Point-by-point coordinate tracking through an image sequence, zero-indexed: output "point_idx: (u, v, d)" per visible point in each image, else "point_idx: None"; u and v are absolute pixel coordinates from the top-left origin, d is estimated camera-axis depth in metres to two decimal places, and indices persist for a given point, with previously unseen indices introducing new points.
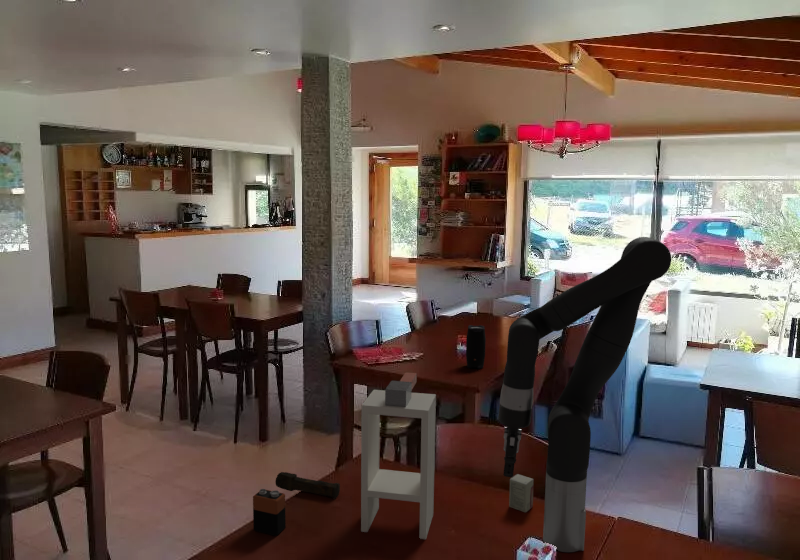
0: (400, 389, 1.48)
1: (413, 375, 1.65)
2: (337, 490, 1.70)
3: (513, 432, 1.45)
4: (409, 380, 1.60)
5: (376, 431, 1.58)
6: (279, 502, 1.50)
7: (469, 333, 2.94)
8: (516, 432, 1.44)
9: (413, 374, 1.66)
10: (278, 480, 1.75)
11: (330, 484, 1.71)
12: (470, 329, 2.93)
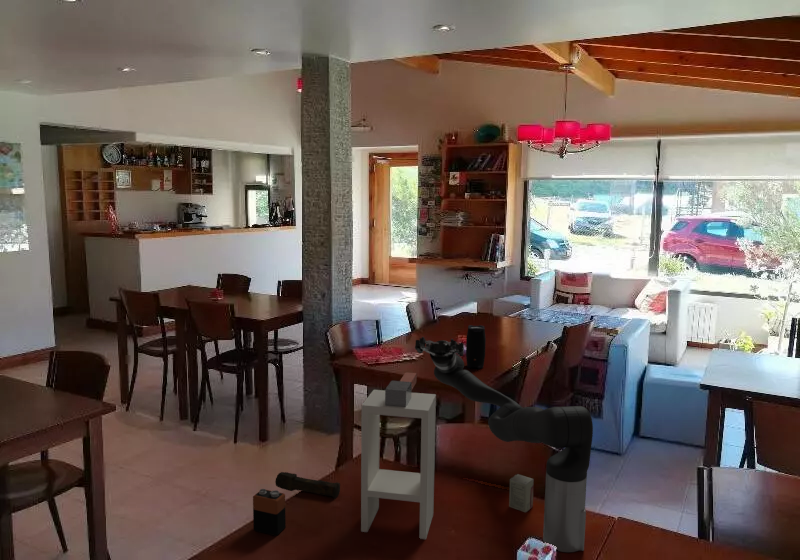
0: (400, 389, 1.48)
1: (413, 375, 1.65)
2: (337, 489, 1.70)
3: (453, 352, 1.90)
4: (409, 380, 1.60)
5: (376, 431, 1.58)
6: (279, 502, 1.50)
7: (469, 333, 2.94)
8: (453, 354, 1.90)
9: (413, 374, 1.66)
10: (278, 480, 1.75)
11: (330, 484, 1.71)
12: (470, 329, 2.93)
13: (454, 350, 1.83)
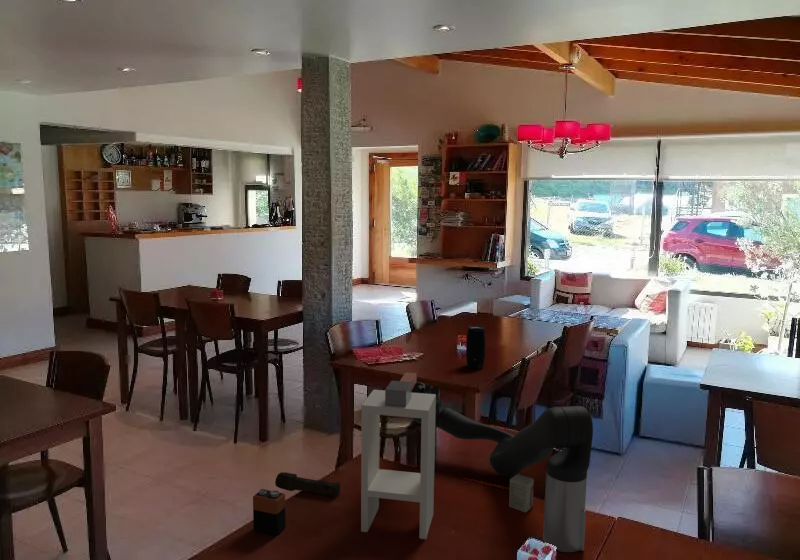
0: (400, 389, 1.48)
1: (413, 375, 1.65)
2: (338, 489, 1.70)
3: None
4: (409, 380, 1.60)
5: (376, 431, 1.58)
6: (279, 502, 1.50)
7: (469, 333, 2.94)
8: None
9: (413, 374, 1.66)
10: (278, 480, 1.75)
11: (331, 483, 1.71)
12: (470, 329, 2.93)
13: None
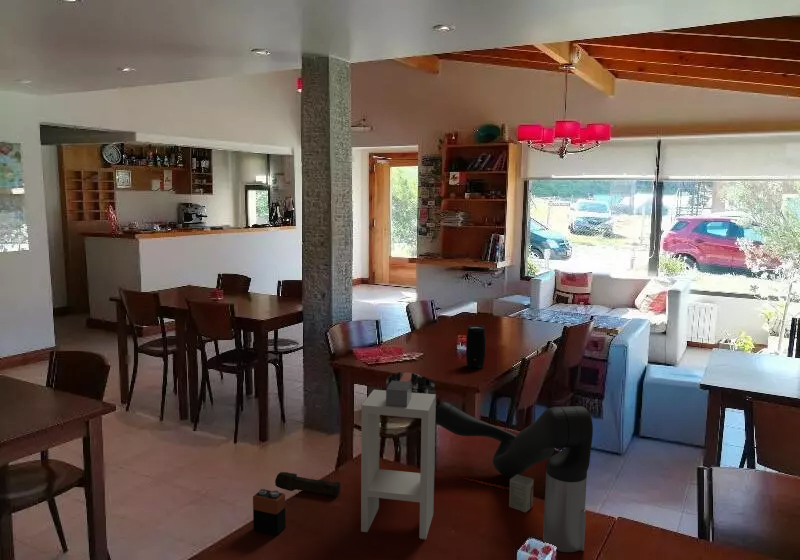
0: (401, 389, 1.48)
1: None
2: (338, 489, 1.70)
3: None
4: (408, 380, 1.60)
5: (376, 431, 1.58)
6: (279, 502, 1.50)
7: (469, 333, 2.94)
8: (425, 389, 1.70)
9: None
10: (278, 480, 1.75)
11: (331, 483, 1.71)
12: (470, 329, 2.93)
13: (415, 385, 1.64)
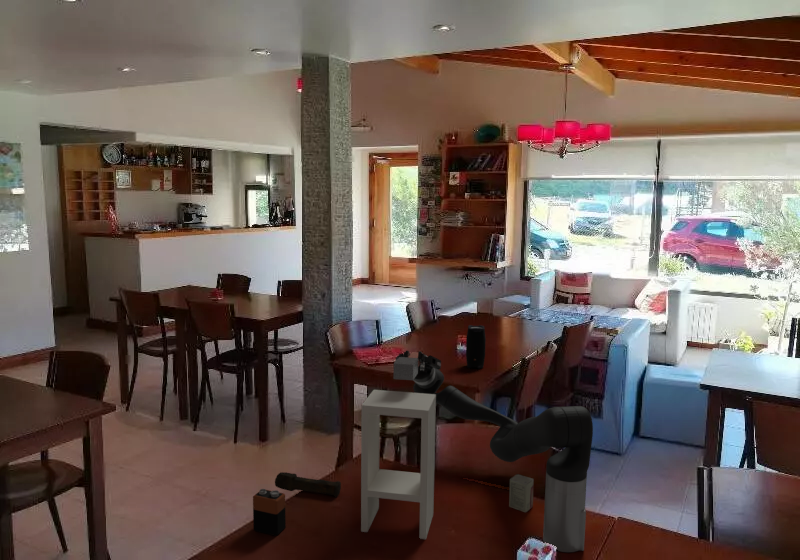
0: (407, 363, 1.57)
1: None
2: (338, 488, 1.71)
3: None
4: (415, 358, 1.70)
5: (376, 431, 1.58)
6: (279, 502, 1.51)
7: (469, 333, 2.94)
8: (432, 368, 1.79)
9: None
10: (278, 480, 1.74)
11: (331, 482, 1.71)
12: (470, 329, 2.93)
13: (422, 363, 1.73)
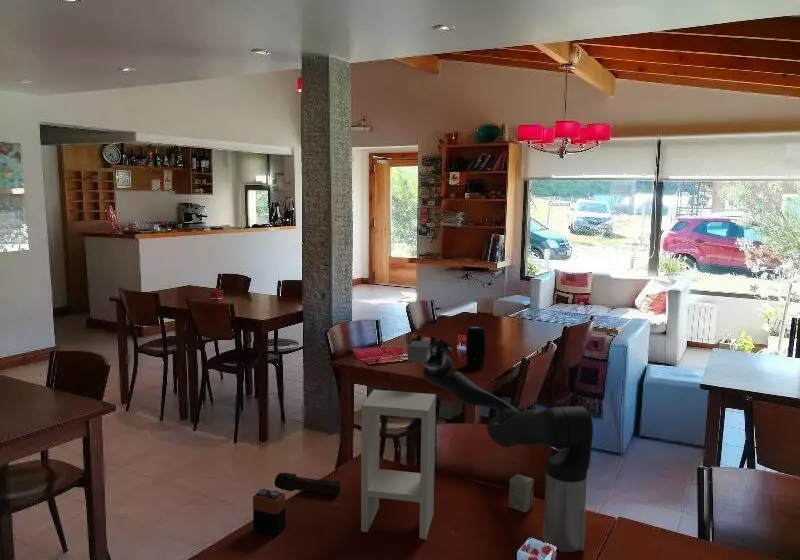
0: (421, 346, 1.63)
1: None
2: (339, 488, 1.71)
3: None
4: None
5: (376, 431, 1.58)
6: (279, 502, 1.50)
7: (469, 333, 2.94)
8: (443, 353, 1.85)
9: None
10: (277, 481, 1.74)
11: (331, 482, 1.71)
12: (470, 329, 2.93)
13: (434, 347, 1.79)
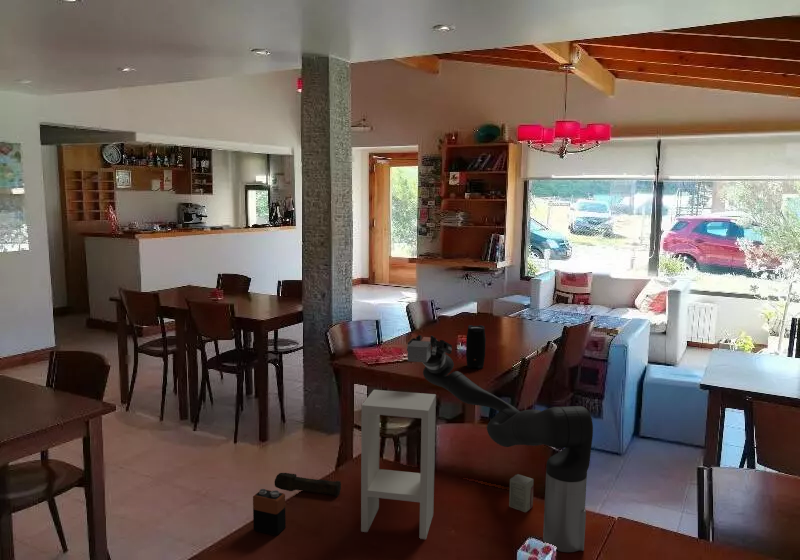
0: (421, 346, 1.63)
1: None
2: (339, 488, 1.71)
3: (443, 350, 1.85)
4: (428, 342, 1.76)
5: (376, 431, 1.58)
6: (279, 502, 1.50)
7: (469, 333, 2.94)
8: (443, 353, 1.85)
9: None
10: (277, 481, 1.74)
11: (331, 482, 1.72)
12: (470, 329, 2.93)
13: (434, 347, 1.79)
